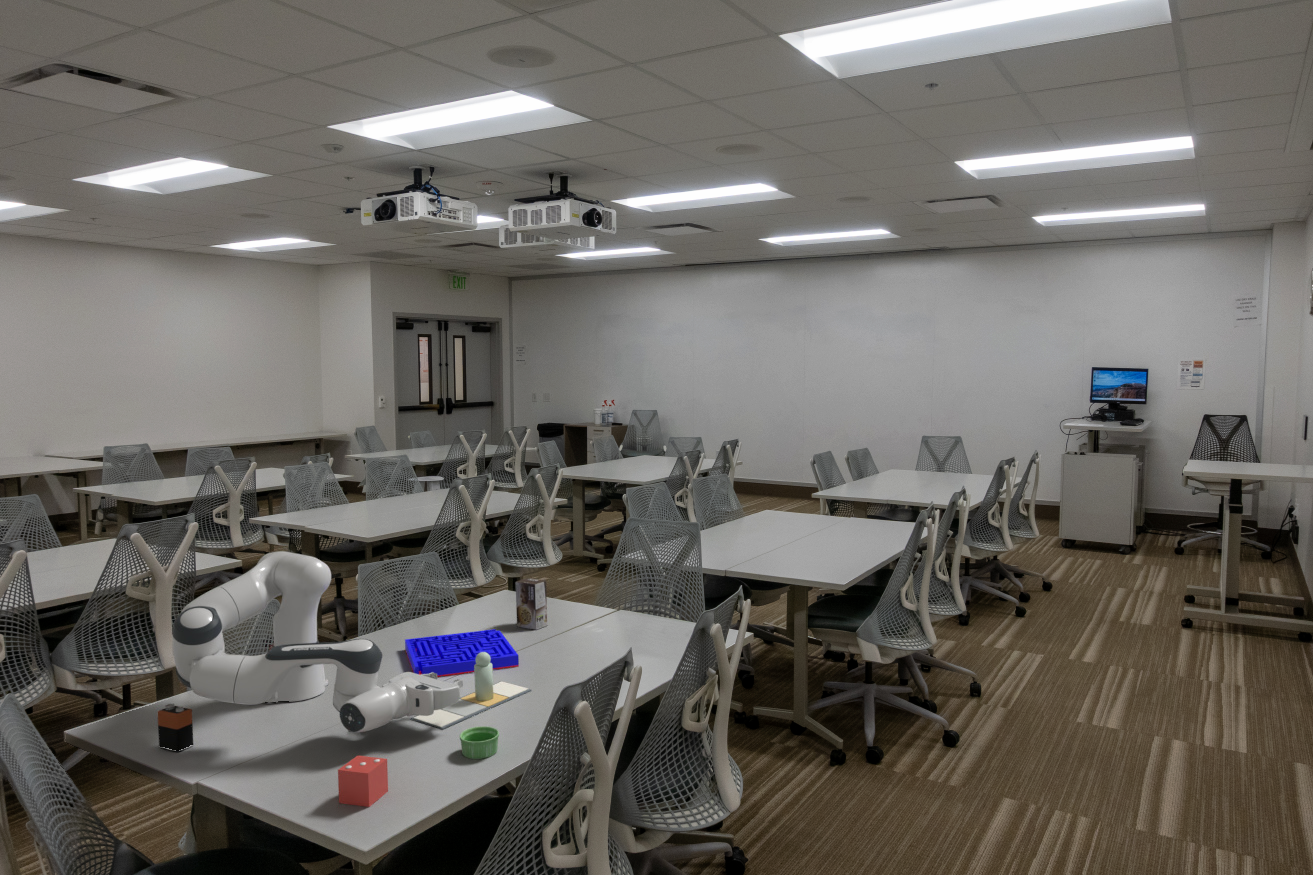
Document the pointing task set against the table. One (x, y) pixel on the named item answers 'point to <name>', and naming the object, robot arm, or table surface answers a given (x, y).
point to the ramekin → (479, 742)
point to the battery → (175, 727)
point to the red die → (363, 781)
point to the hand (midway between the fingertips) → (448, 678)
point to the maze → (459, 652)
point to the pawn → (483, 677)
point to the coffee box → (531, 603)
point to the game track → (471, 706)
